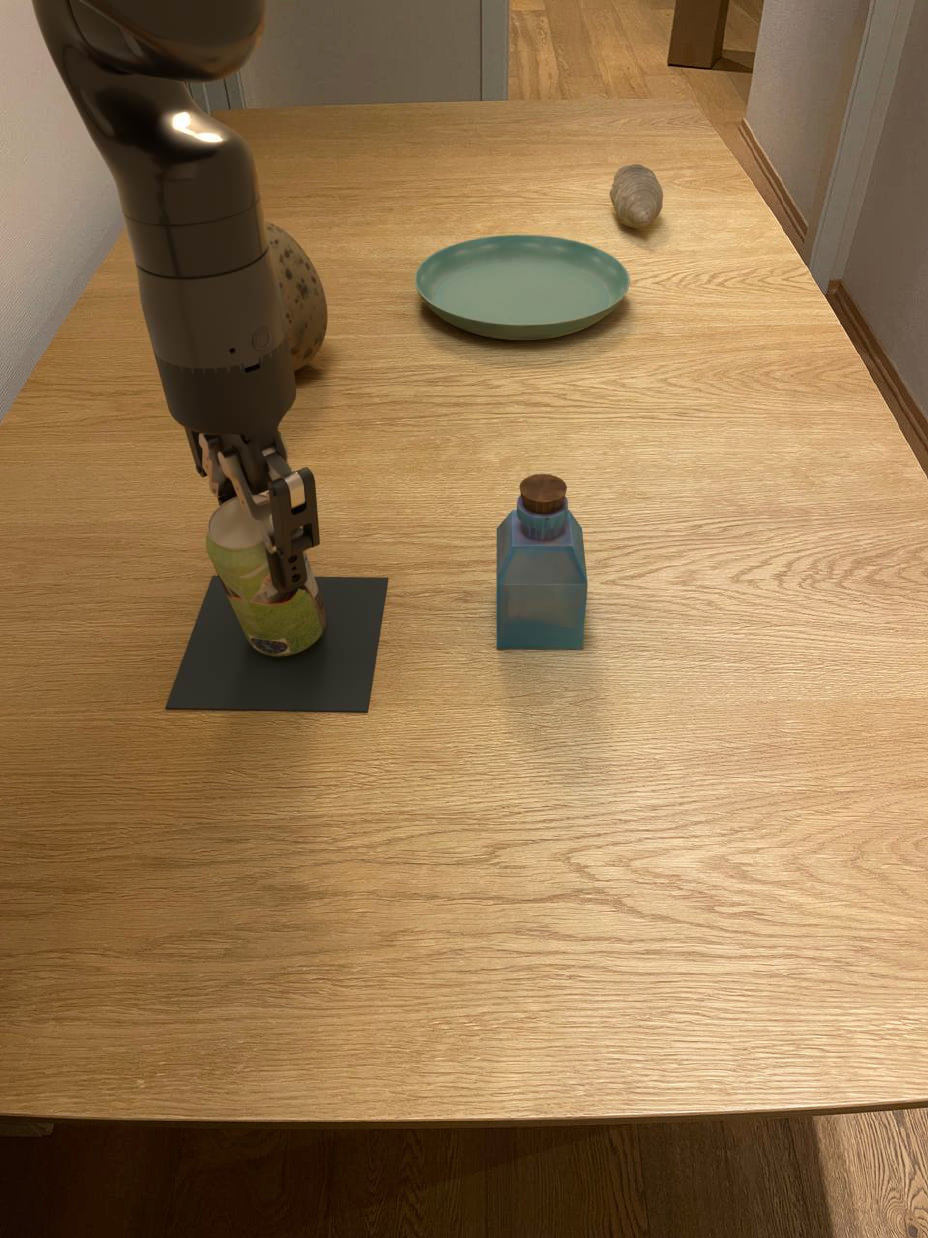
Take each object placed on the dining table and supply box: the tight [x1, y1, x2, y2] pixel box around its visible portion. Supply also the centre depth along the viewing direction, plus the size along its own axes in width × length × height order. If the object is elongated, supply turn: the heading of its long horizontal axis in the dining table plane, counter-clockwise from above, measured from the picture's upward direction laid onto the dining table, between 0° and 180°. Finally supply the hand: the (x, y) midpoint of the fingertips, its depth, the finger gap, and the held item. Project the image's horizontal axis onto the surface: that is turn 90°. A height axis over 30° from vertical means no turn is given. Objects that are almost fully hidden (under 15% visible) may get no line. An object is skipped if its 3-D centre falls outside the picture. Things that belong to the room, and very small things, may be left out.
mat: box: [164, 575, 389, 713], centre depth 72 cm, size 14×14×1 cm
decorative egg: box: [265, 221, 329, 372], centre depth 96 cm, size 11×11×15 cm
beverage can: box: [205, 493, 327, 657], centre depth 67 cm, size 6×7×12 cm
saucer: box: [414, 234, 631, 341], centre depth 111 cm, size 24×24×3 cm
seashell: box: [609, 163, 664, 229], centre depth 126 cm, size 6×14×8 cm, turn 3°
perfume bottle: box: [495, 473, 589, 650], centre depth 68 cm, size 6×6×12 cm
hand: (267, 560), depth 66 cm, fingers closed on beverage can, 6 cm apart
